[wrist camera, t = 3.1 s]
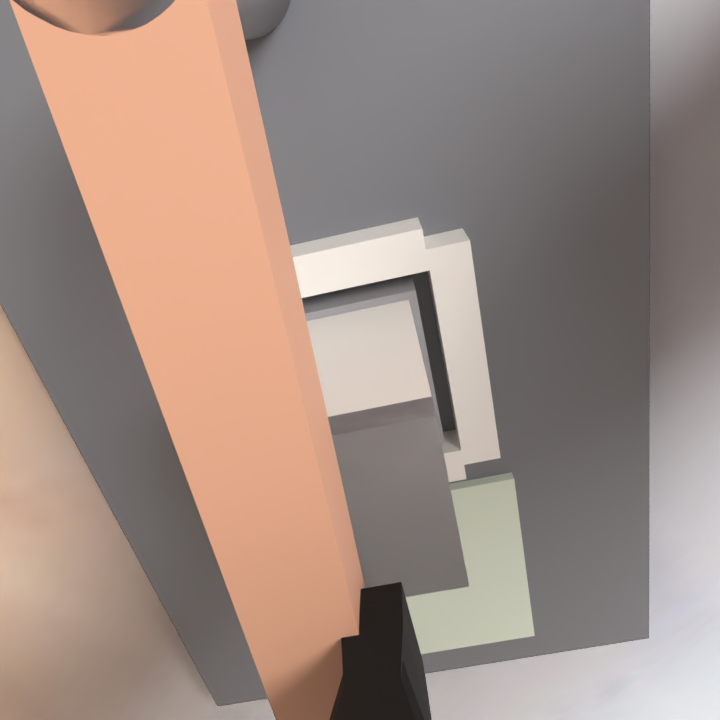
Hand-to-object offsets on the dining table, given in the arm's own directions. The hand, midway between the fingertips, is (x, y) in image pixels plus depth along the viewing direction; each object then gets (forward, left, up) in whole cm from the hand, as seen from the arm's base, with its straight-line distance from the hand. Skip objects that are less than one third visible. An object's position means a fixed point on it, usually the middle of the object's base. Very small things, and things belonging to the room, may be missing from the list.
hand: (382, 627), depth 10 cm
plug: (0, -1, -7) cm, 7 cm away
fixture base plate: (0, -1, -8) cm, 8 cm away
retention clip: (+1, -4, -7) cm, 8 cm away
